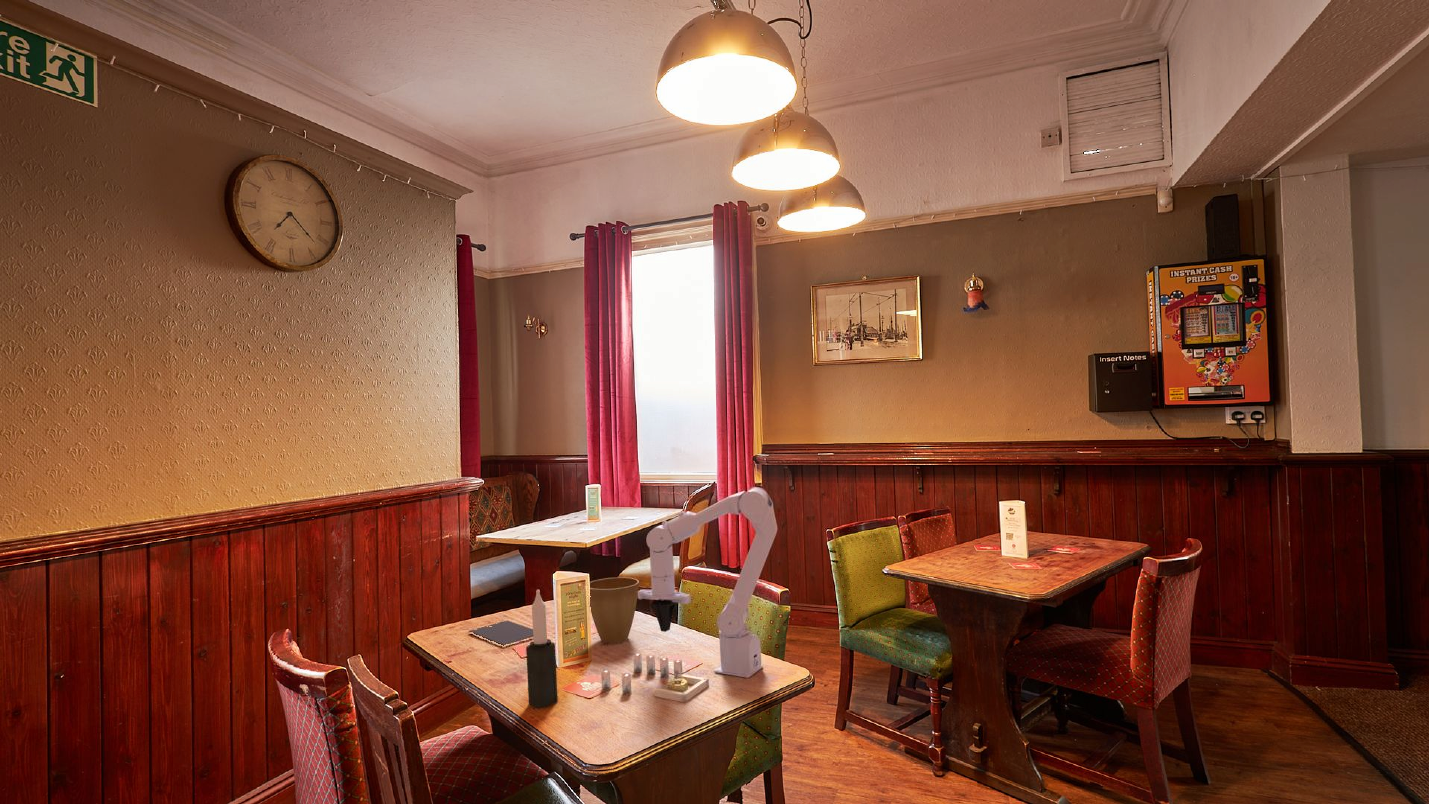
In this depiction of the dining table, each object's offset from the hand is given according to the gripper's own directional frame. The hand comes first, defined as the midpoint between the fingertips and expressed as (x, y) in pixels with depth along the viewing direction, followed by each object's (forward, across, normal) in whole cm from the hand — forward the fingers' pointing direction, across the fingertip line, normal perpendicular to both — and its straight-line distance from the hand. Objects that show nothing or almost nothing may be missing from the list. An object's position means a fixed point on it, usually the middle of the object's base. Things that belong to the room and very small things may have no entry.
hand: (665, 630), depth 171 cm
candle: (+10, -14, -28) cm, 33 cm away
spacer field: (+9, 0, -10) cm, 14 cm away
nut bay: (+9, +11, -10) cm, 18 cm away
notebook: (+10, -61, +4) cm, 62 cm away
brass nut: (+10, +10, -10) cm, 17 cm away
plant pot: (+10, -27, +13) cm, 31 cm away
